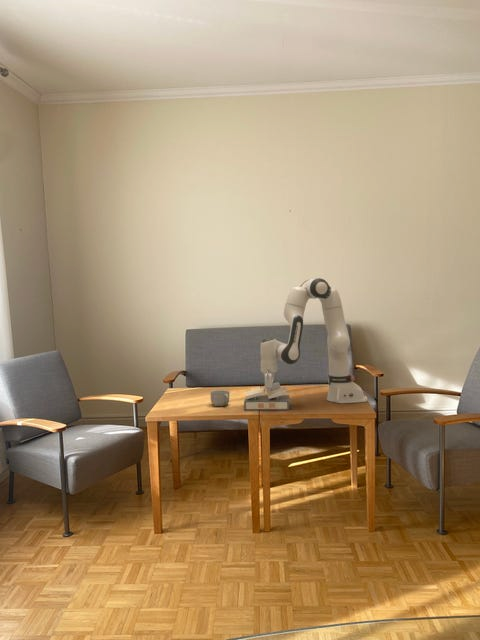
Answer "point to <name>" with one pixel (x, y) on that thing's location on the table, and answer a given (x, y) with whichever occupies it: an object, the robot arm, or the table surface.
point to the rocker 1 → (255, 393)
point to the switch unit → (267, 403)
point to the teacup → (219, 397)
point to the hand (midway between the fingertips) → (269, 393)
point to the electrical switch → (275, 386)
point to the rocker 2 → (278, 392)
